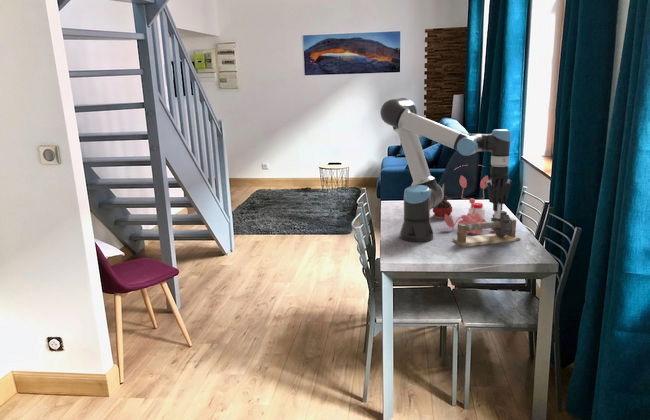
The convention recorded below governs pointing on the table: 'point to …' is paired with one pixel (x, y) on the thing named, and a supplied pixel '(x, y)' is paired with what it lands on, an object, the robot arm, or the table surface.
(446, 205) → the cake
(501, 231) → the square-toothed gear
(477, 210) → the pill bottle
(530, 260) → the table surface
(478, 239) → the pipe rig
